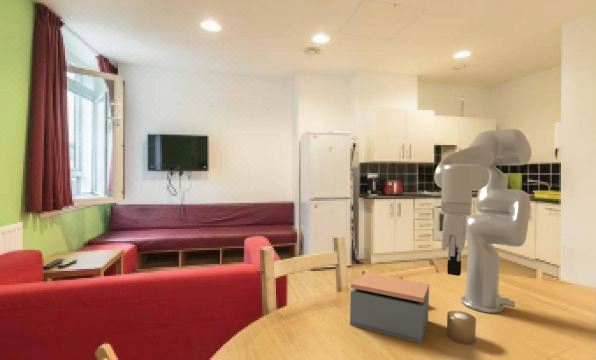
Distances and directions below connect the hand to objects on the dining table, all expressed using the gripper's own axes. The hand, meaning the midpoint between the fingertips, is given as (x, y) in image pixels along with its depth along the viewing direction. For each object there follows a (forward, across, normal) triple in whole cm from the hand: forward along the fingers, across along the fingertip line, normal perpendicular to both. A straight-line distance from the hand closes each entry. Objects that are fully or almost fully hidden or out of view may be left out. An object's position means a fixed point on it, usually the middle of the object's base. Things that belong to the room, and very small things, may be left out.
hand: (454, 274), depth 86 cm
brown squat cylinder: (+18, 0, +2) cm, 18 cm away
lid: (+7, +3, -17) cm, 18 cm away
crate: (+17, +3, -17) cm, 24 cm away
